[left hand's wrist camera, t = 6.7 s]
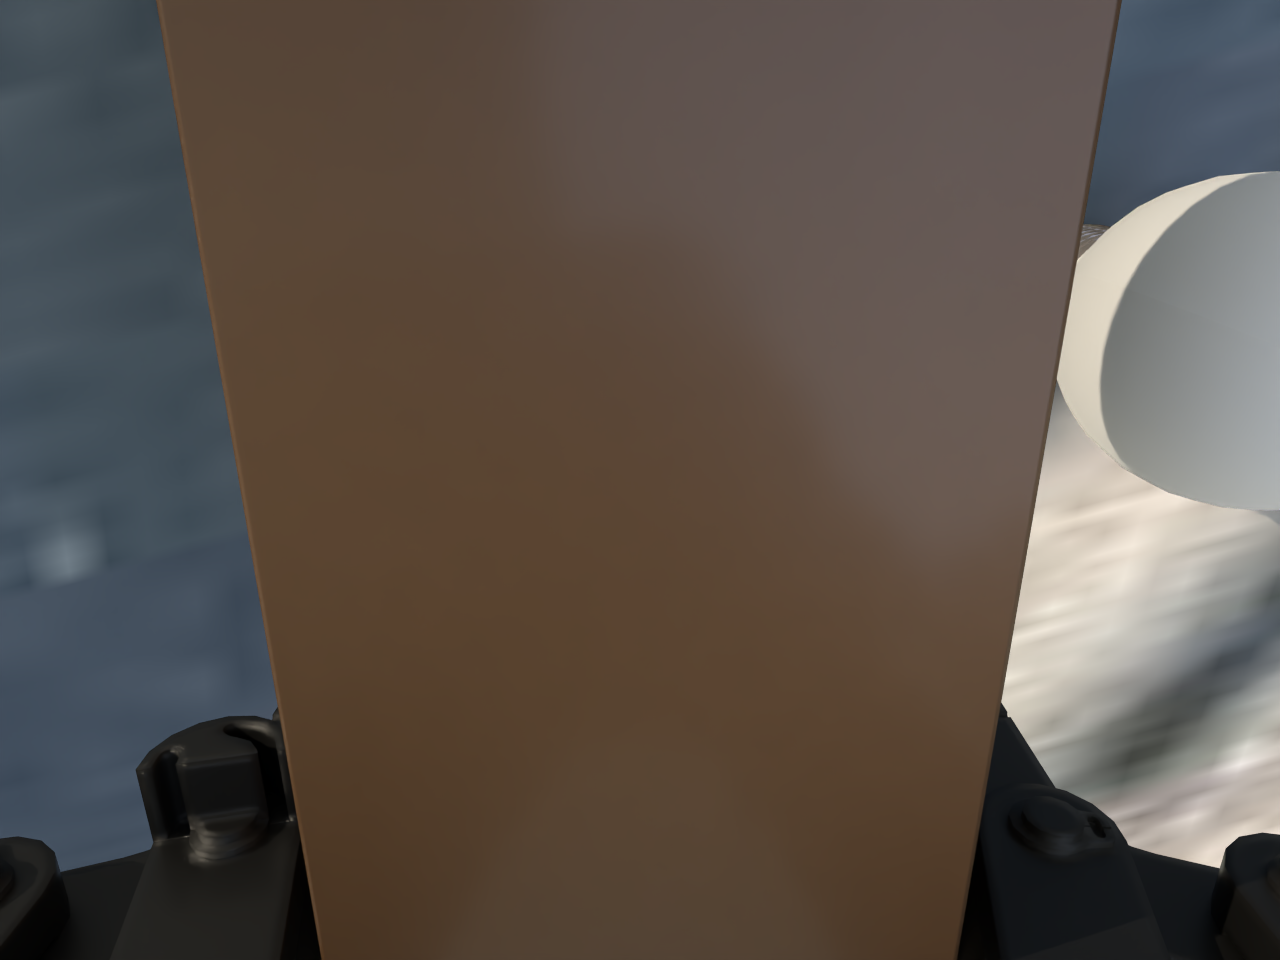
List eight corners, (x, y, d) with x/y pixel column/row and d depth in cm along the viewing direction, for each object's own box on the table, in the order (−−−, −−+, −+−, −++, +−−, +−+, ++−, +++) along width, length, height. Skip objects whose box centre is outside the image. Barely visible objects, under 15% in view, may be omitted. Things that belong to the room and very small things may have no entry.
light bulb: (923, 354, 26) (1110, 501, 15) (1049, 119, 23) (1367, 108, 13) (1123, 440, 27) (1428, 632, 16) (1264, 221, 24) (1718, 286, 14)
